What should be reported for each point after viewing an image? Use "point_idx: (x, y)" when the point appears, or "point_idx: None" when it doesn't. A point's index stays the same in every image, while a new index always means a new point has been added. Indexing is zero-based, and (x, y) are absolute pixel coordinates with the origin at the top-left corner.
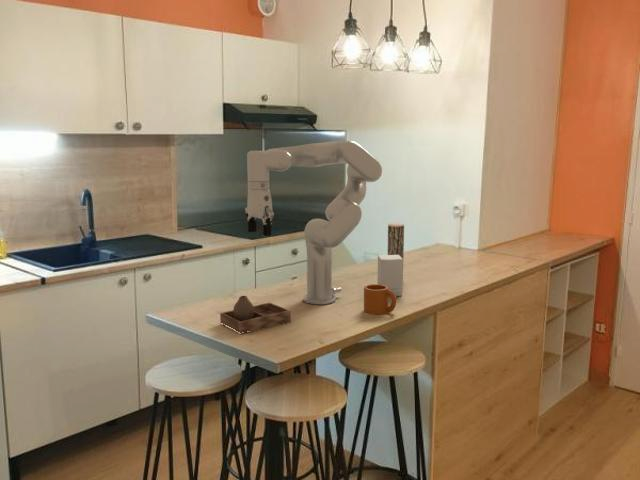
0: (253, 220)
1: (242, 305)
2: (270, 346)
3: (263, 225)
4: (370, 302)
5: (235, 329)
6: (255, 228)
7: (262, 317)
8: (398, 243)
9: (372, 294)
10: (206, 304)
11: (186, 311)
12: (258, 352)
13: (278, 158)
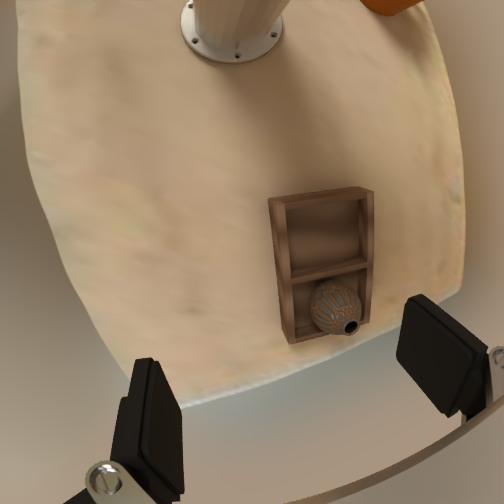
0: (155, 482)
1: (356, 324)
2: (425, 280)
3: (454, 409)
4: (405, 7)
5: None
6: (158, 388)
7: (372, 272)
8: None
9: (420, 1)
10: (114, 316)
11: None
12: None
13: None
